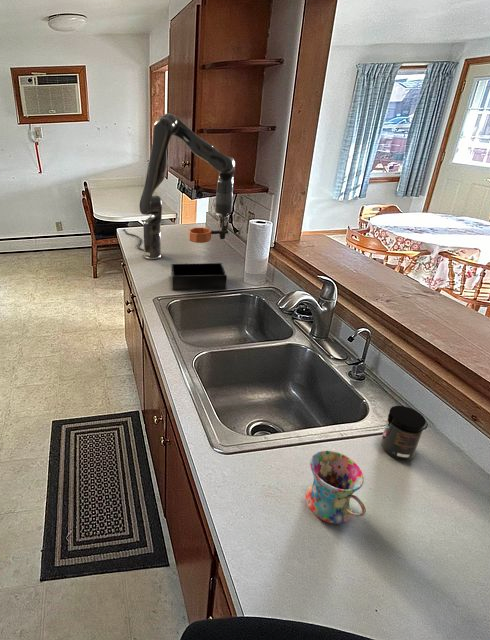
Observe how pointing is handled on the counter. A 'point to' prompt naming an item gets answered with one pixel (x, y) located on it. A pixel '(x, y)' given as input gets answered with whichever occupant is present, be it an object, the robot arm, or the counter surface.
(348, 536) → the counter surface
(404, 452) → the supplement container
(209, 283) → the black storage tray
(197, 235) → the pan
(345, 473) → the mug
